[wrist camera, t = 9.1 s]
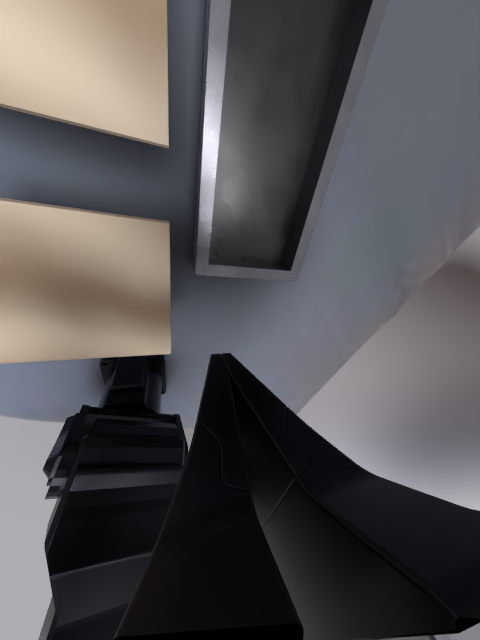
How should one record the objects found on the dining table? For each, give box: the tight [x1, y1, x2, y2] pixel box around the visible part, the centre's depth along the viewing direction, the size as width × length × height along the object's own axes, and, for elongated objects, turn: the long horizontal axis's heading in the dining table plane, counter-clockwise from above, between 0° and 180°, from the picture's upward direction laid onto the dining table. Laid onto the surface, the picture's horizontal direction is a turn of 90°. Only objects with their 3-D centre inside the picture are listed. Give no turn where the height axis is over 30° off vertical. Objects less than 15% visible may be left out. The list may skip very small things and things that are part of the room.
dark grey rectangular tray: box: [193, 0, 388, 281], centre depth 15 cm, size 20×10×2 cm, turn 170°
